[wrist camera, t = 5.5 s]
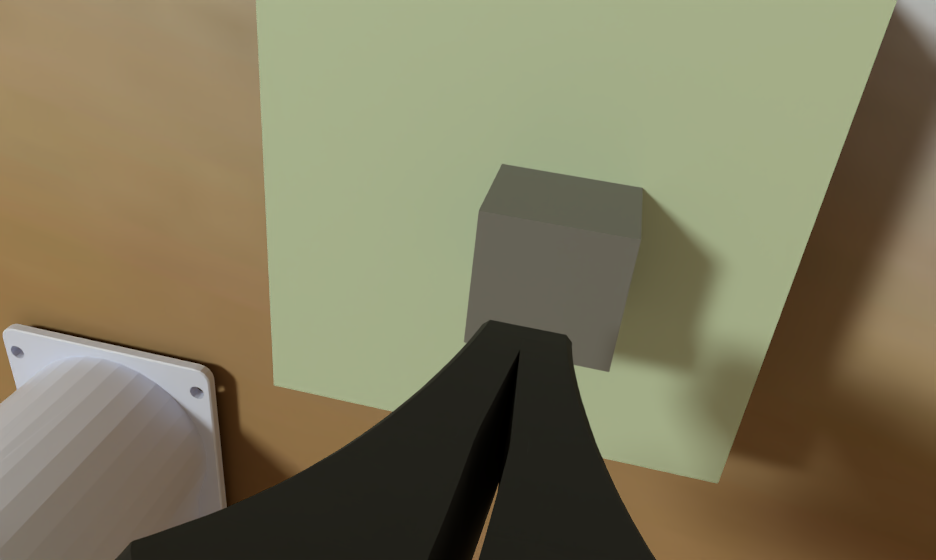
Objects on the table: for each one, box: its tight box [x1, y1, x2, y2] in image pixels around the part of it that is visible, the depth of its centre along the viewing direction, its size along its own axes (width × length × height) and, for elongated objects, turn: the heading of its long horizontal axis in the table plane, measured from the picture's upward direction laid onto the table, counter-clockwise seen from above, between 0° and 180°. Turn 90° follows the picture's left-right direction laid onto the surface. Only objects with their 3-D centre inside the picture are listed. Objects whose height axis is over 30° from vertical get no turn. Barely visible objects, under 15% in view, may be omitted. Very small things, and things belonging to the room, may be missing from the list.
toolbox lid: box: [256, 0, 897, 483], centre depth 16 cm, size 12×12×4 cm
